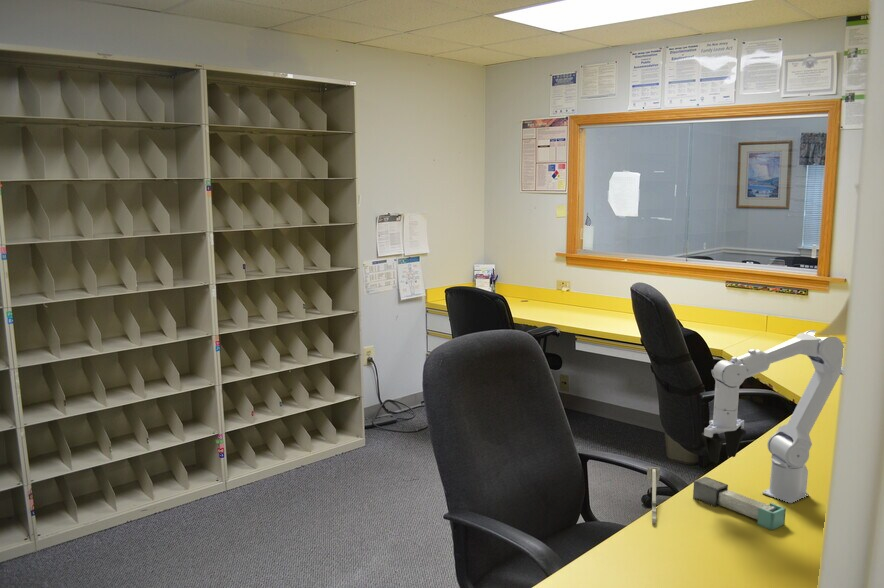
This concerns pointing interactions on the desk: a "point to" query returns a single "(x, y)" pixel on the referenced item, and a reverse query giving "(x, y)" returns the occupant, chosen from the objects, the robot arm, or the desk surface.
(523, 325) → the desk surface
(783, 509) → the socket
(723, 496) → the long grey plank
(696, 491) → the sleeve
